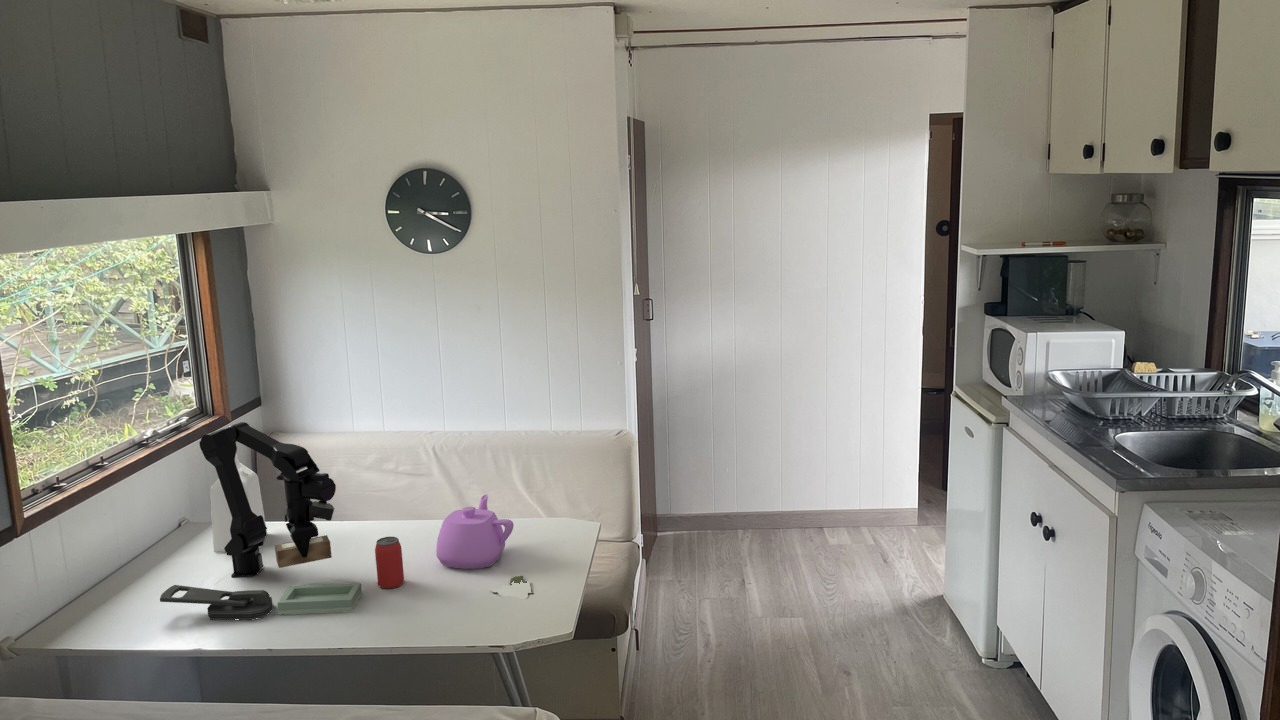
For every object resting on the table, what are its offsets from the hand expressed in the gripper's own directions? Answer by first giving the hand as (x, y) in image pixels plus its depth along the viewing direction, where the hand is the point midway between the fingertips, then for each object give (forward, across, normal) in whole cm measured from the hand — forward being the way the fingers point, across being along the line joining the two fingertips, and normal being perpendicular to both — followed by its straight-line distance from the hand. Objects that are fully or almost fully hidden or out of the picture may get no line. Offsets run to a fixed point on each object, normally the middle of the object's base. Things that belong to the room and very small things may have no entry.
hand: (303, 553), depth 246 cm
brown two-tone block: (+2, 0, 0) cm, 2 cm away
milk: (+8, +39, +13) cm, 42 cm away
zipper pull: (+8, -8, +21) cm, 24 cm away
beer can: (+8, -13, -19) cm, 25 cm away
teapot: (+8, -8, -42) cm, 44 cm away
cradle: (+8, -16, -1) cm, 18 cm away
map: (+8, -35, -44) cm, 57 cm away
